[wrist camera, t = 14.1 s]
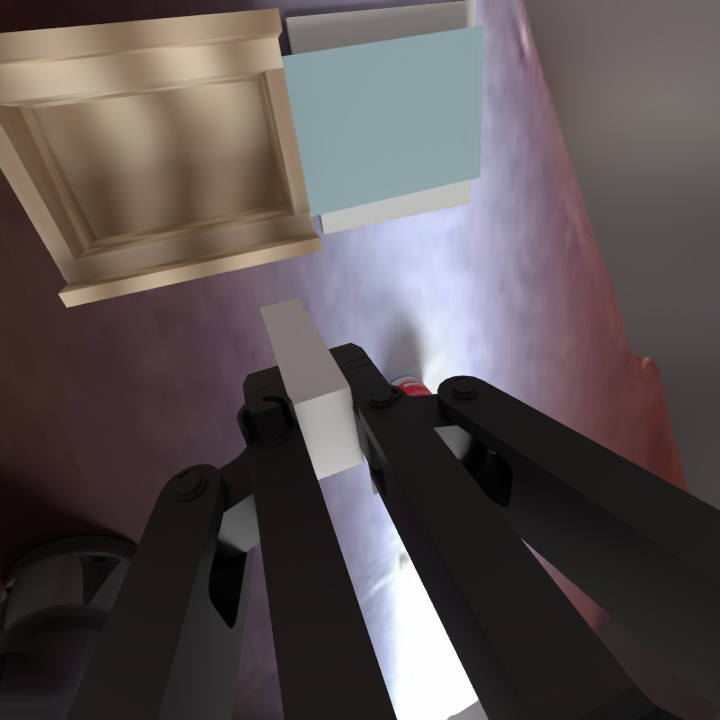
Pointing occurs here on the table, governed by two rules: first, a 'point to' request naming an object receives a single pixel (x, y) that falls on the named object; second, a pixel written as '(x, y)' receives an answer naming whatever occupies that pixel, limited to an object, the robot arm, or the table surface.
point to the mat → (374, 28)
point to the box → (154, 149)
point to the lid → (387, 117)
